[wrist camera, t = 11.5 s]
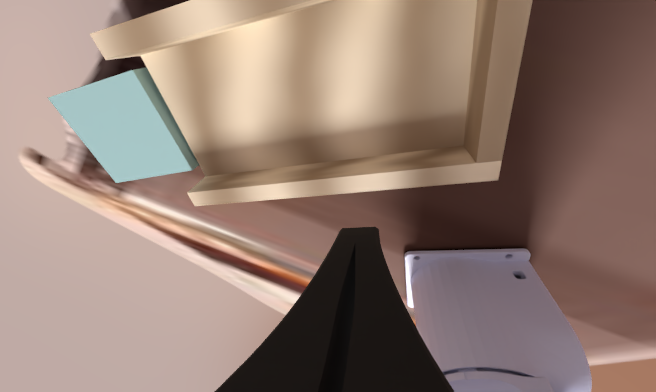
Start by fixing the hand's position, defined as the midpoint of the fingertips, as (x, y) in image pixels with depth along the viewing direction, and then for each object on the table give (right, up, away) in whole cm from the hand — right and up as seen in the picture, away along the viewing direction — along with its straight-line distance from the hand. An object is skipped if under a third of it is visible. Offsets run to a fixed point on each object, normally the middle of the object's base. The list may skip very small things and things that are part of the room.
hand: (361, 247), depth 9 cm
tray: (-2, +8, +6) cm, 11 cm away
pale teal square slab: (-16, +8, +10) cm, 20 cm away
